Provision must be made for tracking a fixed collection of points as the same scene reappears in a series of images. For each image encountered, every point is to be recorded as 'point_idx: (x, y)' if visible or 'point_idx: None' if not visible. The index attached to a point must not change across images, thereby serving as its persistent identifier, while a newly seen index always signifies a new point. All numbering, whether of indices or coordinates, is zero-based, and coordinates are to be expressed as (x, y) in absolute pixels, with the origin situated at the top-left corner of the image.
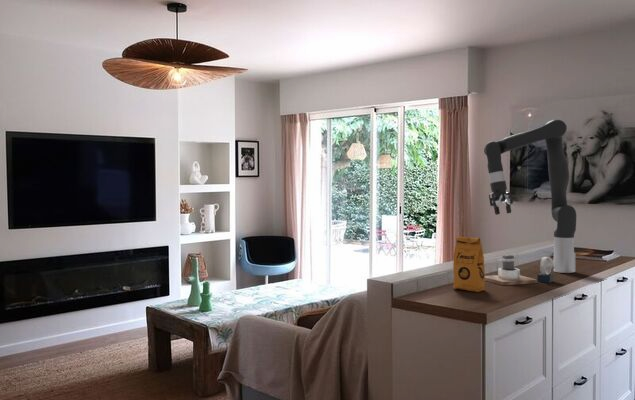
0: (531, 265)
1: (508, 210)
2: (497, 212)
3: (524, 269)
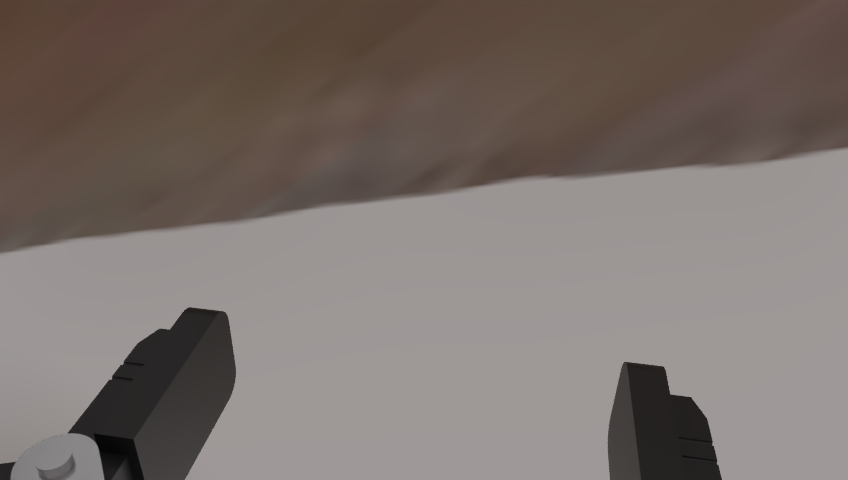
0: (52, 166)
1: (205, 381)
2: (692, 409)
3: (255, 85)
